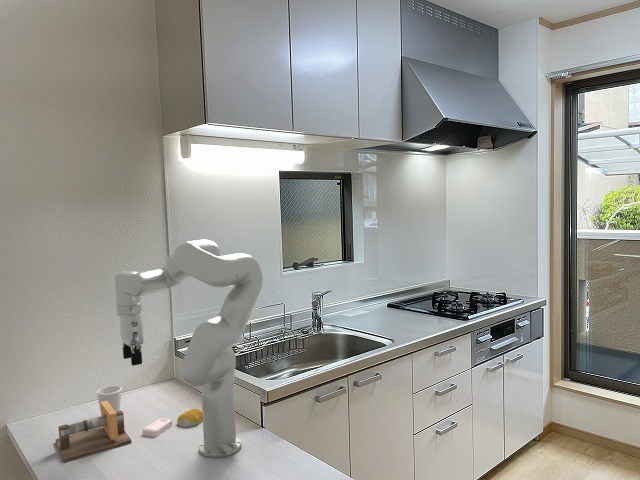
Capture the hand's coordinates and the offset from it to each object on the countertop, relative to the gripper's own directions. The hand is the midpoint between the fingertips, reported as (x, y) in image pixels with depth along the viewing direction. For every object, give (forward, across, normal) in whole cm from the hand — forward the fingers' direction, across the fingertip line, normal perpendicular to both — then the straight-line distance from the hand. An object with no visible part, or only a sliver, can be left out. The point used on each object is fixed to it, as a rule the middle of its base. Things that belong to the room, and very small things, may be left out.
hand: (132, 361), depth 162 cm
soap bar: (+24, -4, -6) cm, 25 cm away
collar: (+21, 0, +8) cm, 23 cm away
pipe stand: (+23, 0, +14) cm, 27 cm away
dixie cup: (+23, +17, +4) cm, 29 cm away
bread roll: (+24, -5, -16) cm, 29 cm away
